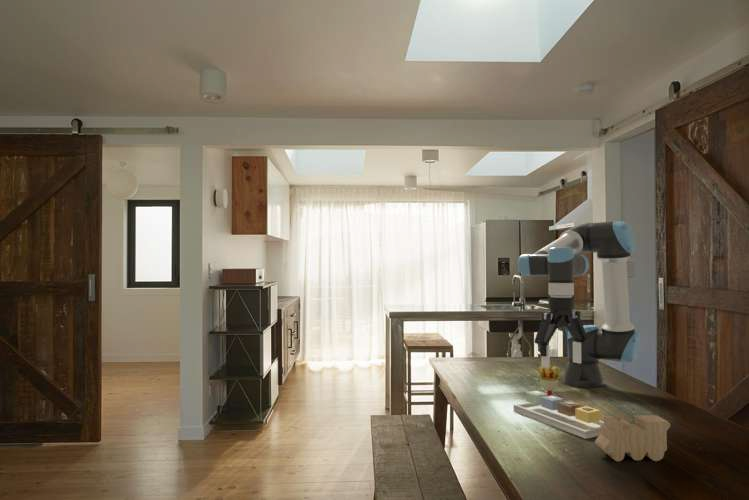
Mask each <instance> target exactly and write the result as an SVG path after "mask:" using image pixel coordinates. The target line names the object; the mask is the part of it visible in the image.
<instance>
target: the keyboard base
mask: <svg viewBox="0 0 749 500" xmlns="http://www.w3.org/2000/svg"><path fill="white" fill-rule="evenodd" d="M513 411H514V412H515V413H517V414H521V415H524V416H525V417H528V418H531V419H533V420H536V421H539V422H541V423H544V424H547V425H549V426H552V427H554V428H557V429H560V430H562V431H564V432H567V433H570V434H572V435H575V436H576V437H577V436H578V437H580V438H582V439H585V440H586V439H591V438H595V437H598V436H599V435H600V428H601V424H604V420H601V419H600V421H596V422H591V423H587V422H584V421H581V420H578V419H575V416H567V415H564V414H561V413H558V410H550V409H547V408H544V407H541V404H538V405H536V404H533V403H530V402H522V403H517V404H516V403H515V404H513Z"/></svg>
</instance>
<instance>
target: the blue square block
mask: <svg viewBox="0 0 749 500" xmlns="http://www.w3.org/2000/svg"><path fill="white" fill-rule="evenodd" d="M553 395H554V394H553ZM553 395H551V396H545V397H541V407H544V408H547V409H550V410H558V402H564V401H565V400H564V398H562V397H559V396H556V395H554V396H553Z"/></svg>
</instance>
